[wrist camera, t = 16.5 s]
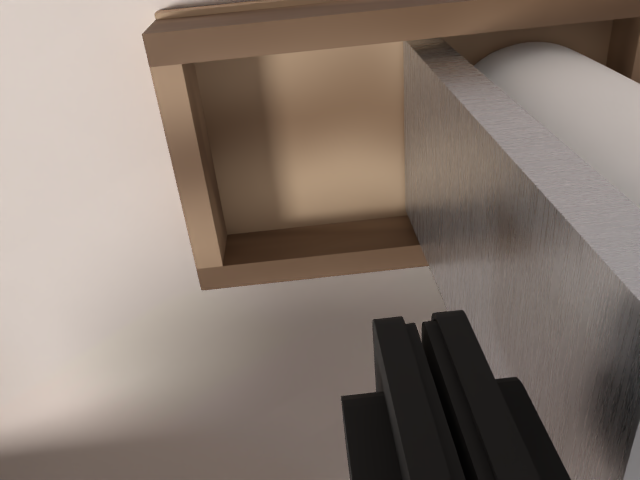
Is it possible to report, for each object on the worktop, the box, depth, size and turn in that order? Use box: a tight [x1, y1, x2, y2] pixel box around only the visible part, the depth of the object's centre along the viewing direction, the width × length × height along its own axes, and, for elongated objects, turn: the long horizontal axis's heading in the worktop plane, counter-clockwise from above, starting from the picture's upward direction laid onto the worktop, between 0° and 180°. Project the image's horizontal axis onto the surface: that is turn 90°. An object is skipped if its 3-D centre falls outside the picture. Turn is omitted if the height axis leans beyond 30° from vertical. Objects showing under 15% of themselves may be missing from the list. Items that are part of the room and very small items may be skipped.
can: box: [474, 42, 640, 208], centre depth 17 cm, size 6×6×12 cm
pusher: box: [403, 38, 640, 480], centre depth 15 cm, size 7×1×16 cm, turn 5°
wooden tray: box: [142, 0, 640, 290], centre depth 22 cm, size 10×17×3 cm, turn 95°
